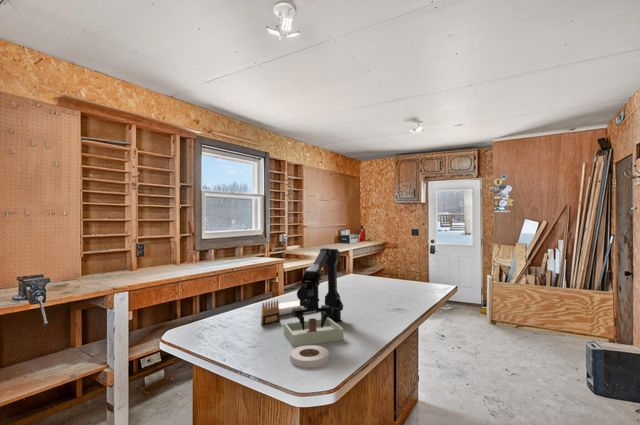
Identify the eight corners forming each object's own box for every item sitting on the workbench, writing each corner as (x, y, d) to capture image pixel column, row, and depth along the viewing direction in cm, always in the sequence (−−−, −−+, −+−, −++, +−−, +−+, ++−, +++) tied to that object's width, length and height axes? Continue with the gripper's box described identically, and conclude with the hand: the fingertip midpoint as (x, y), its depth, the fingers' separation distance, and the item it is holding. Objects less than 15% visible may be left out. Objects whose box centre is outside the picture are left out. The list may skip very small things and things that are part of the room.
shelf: (316, 311, 196) (316, 302, 196) (271, 319, 179) (270, 310, 180) (306, 307, 205) (306, 299, 205) (263, 315, 189) (263, 306, 189)
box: (329, 327, 164) (329, 317, 165) (343, 339, 147) (343, 328, 148) (283, 333, 156) (283, 323, 156) (293, 346, 139) (293, 335, 140)
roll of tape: (282, 362, 125) (282, 355, 125) (304, 349, 138) (304, 342, 138) (315, 371, 117) (315, 364, 117) (335, 356, 130) (335, 349, 130)
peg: (315, 334, 154) (314, 318, 155) (317, 337, 151) (317, 320, 151) (308, 335, 153) (307, 318, 153) (310, 338, 150) (310, 321, 150)
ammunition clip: (262, 326, 168) (262, 303, 168) (261, 325, 169) (260, 302, 170) (279, 321, 175) (279, 299, 175) (277, 321, 176) (277, 299, 177)
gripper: (324, 291, 163) (325, 321, 163) (289, 294, 157) (289, 326, 156) (332, 295, 153) (333, 328, 152) (295, 299, 146) (295, 333, 146)
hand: (312, 329), depth 152 cm, fingers open, 9 cm apart
